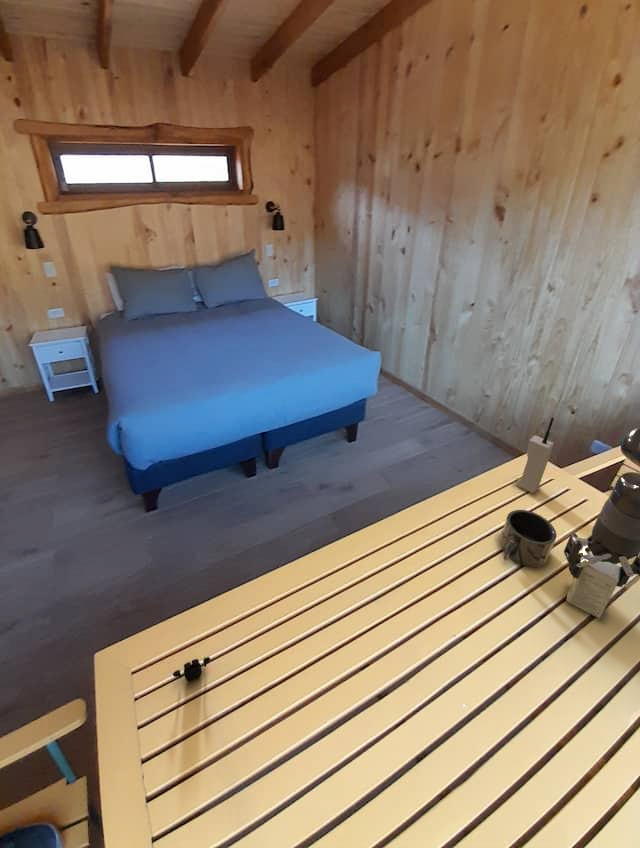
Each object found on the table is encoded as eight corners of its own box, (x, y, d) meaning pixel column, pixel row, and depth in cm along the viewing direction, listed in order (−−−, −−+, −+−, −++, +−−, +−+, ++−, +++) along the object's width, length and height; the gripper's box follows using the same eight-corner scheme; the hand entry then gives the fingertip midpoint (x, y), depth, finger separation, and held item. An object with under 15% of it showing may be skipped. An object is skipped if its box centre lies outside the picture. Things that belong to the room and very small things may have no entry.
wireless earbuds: (210, 664, 78) (208, 649, 76) (214, 677, 76) (211, 662, 74) (174, 680, 76) (171, 665, 74) (177, 694, 74) (173, 680, 72)
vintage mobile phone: (520, 479, 122) (543, 410, 111) (538, 488, 119) (563, 418, 107) (515, 485, 120) (537, 415, 109) (532, 494, 116) (558, 423, 105)
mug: (515, 526, 106) (522, 503, 103) (555, 554, 98) (565, 532, 95) (483, 548, 100) (489, 526, 97) (523, 581, 92) (532, 558, 89)
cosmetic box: (602, 604, 87) (623, 567, 82) (599, 619, 84) (621, 582, 79) (567, 586, 91) (585, 549, 86) (564, 600, 88) (582, 563, 83)
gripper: (589, 531, 75) (563, 587, 83) (680, 546, 72) (644, 603, 79) (573, 502, 82) (550, 556, 89) (657, 514, 78) (625, 570, 86)
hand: (595, 578), depth 84 cm, fingers closed on cosmetic box, 7 cm apart
